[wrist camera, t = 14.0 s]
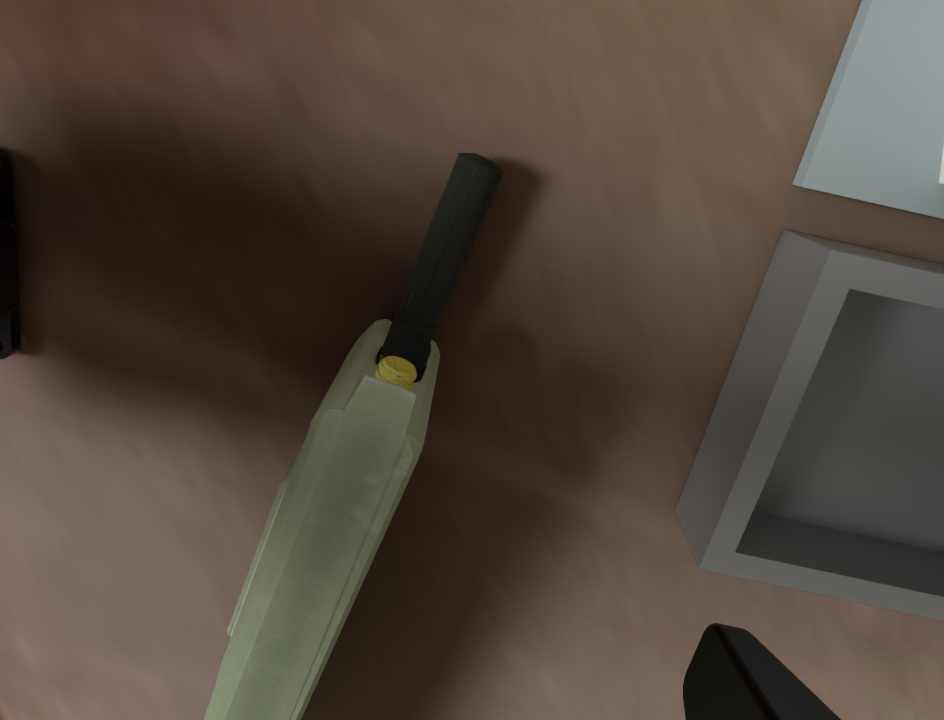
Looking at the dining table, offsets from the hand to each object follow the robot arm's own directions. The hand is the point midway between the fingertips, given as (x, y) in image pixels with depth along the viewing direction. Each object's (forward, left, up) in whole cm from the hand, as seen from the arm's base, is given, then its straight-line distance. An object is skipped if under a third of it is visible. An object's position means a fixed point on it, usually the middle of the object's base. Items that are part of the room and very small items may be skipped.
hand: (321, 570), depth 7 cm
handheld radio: (-2, -8, -14) cm, 16 cm away
